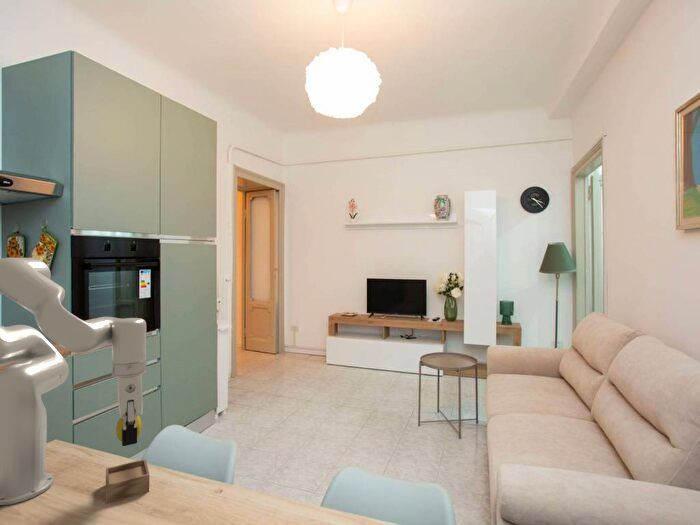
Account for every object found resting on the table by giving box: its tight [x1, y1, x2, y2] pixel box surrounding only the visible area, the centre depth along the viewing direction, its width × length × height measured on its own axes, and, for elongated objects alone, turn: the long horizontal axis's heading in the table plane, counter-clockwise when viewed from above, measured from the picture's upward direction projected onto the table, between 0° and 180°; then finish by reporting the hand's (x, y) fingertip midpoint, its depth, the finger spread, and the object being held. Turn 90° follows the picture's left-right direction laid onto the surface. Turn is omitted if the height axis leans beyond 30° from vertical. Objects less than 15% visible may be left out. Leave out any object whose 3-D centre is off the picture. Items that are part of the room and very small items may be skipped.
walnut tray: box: [105, 458, 150, 504], centre depth 97 cm, size 9×9×4 cm
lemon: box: [115, 413, 142, 443], centre depth 97 cm, size 6×6×8 cm
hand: (128, 438), depth 97 cm, fingers closed on lemon, 5 cm apart
